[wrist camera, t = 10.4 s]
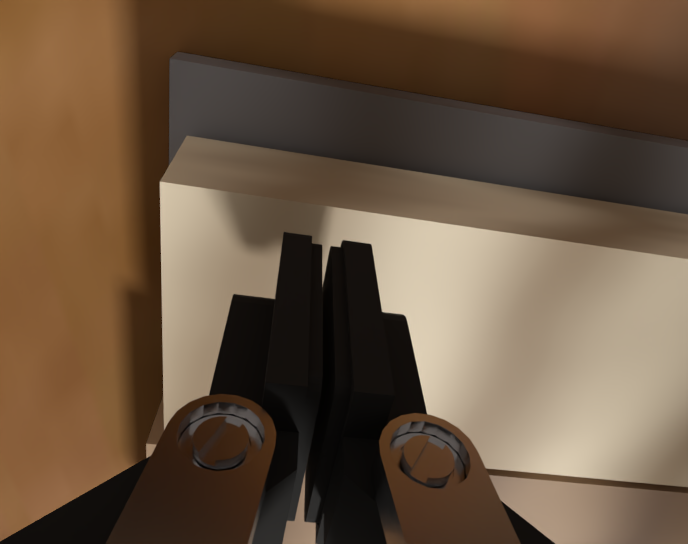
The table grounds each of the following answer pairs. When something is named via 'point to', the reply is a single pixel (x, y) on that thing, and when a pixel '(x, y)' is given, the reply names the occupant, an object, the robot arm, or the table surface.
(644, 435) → the birch plank
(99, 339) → the table surface
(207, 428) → the robot arm
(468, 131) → the floor panel
